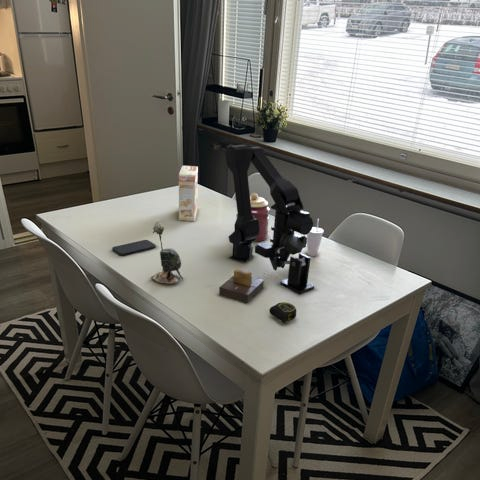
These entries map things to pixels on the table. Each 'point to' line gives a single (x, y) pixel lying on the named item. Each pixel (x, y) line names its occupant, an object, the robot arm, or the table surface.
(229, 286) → the plate
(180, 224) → the table surface
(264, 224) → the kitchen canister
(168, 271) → the dried flower vase
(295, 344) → the table surface
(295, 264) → the handle bracket
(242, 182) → the robot arm
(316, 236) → the smoothie
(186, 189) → the coffeecake box
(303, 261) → the door handle
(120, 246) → the phone
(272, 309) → the tape measure
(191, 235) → the table surface
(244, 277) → the thumb turn
